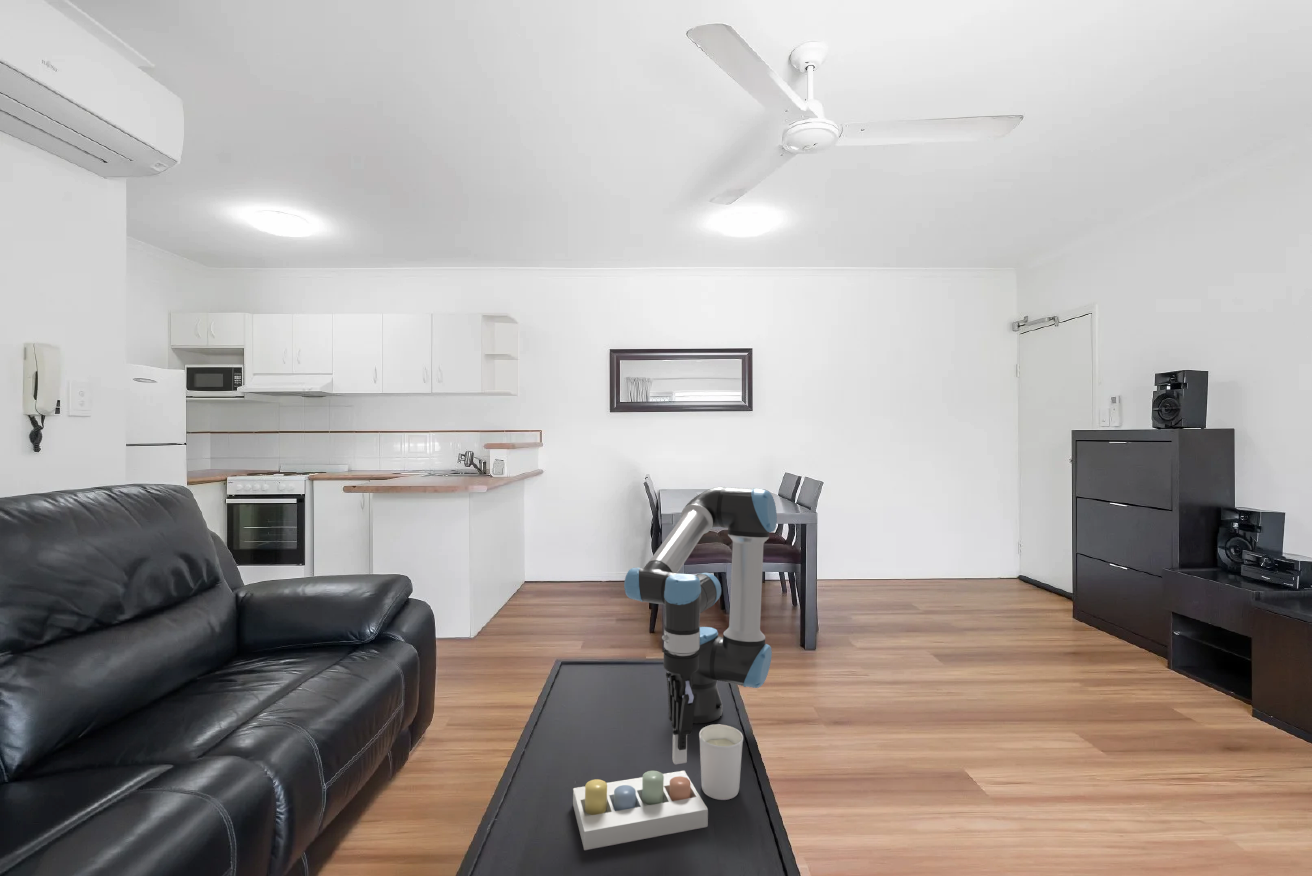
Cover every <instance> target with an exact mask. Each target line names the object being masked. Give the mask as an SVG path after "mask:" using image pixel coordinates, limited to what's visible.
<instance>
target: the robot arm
mask: <svg viewBox="0 0 1312 876" xmlns="http://www.w3.org/2000/svg"><path fill="white" fill-rule="evenodd" d="M777 517H778V516H777V506H776V502H775V499H774V496H773V494H772V493H771V492H770V491H769V490H766V489H761V488H748V487H747V488H744V487H725V486H718V487H713V488H709V489H707V490H705V491H703V492H700V493H698V495H696V496H694V497H693V498H692V499H691V500H690V501H688V503H687V504H686V505H685V506H684V508H683V509H682V511H681V513H680V519H679V520H678V521H677V522H676V524H675V525H674V527H673V528H672V530H670V532H669V534H668V535H667V536H666V538H665V539H664V541H663V542H662V543H661V544H660V546H659V547H658V548H657V549H656V551H655V553H654V554H653V555H652V557H651V558H650V559H649V560H648V562H647V563H646V564H645V565H644V567H642V568H641V567H632V568H630V569H628V571H627V572H626V575H625V578H624V582H623V588H624V593H625V595H626V596H627V598H628V599H631V600H634V601H638V602H641V603H650V604H657V605H664V626H663V628H664V632H663V633H664V634H663V635H662V636H661V639H662V641H663V648H664V650H663V668H664V670H666V671H667V672H666V674H665V677H666V683H667V684H666V685H667V686H666V687H667V701H668V703H667V704H668V719H669V720H668V721H669V722H671V727H672V731H671V732H672V752H671V753H672V755H671V756H672V760H671V761H672V762H673V764H674V765H679V764H686V763H687V762H688V761H687V760H688V735H692V732H693V725H694V724H706V723H707V724H708V723H712V722H714V721H717V720H719V719H720V718H721V717H722V716H723V702H722V699H721V698H722V697H721V695H720V692H719V688H718V682H722V683H723V682H724V683H727V684H733V685H737V686H741V687H743V688H747V687H748V688H754V689H758V688H761V687H762V686H763V685H764V683H765V682H766V680H767V677H768V674H769V672H770V671H769V670H770V666H771V662H772V656H773V655H772V653H773V652H772V651H773V650H772V647H771V645H769V644H767V643H766V635H765V634H764V633H763V632H762V631H761V614H762V589H763V588H762V587H763V565H764V564H763V563H764V545H765V542H767V540H769V539H770V533H772V532H774V531H776V529H777V528H776V527H777V521H778V518H777ZM713 528H723V529H724V528H726V529H727V536H728V537H729V538H730V539H731V541H732V553H731V554H732V555H731V577H730V578H731V579H730V597H729V598H730V599H729V600H730V602H729V623H728V627H727V629H725V630H724V631H723V634H722V636H720V635H719V632H718V629H716V628H714V627H711V626H700V625H701V623H700V622H701V621H700V619H701V613H703V612H704V611H707V609H709V608H711V607H713V606H714V605H715V603H716V602H717V601H718V600H719V599H720V597H721V595H722V587H721V586H722V585H721V583H720V581H719V579H718V578H717V577H716V576H715V575H714V574H713V573H709V572H700V573H696V574H690V573H680V572H679V571H681V569H682V567H683V565H684V564H685V563H686V561H687V559H689V557H690V555H691V554H692V552H693V551H694V548H695V547H696V546H697V545H698V543H699V541H700V540H701V538H702V537H703V535H704V534H707V533H709V532H710V531H711V530H712V529H713ZM720 716H721V717H720Z"/></svg>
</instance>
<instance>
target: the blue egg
mask: <svg viewBox="0 0 1312 876" xmlns="http://www.w3.org/2000/svg"><path fill="white" fill-rule="evenodd" d="M635 799H636V791H635V789H634V788H633V787H632V786H629V785H622V786H619V787H617V788H616V789H615V790H614V810H615V811H619V810H625V809H631V808H635Z"/></svg>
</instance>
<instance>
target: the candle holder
mask: <svg viewBox="0 0 1312 876" xmlns="http://www.w3.org/2000/svg"><path fill="white" fill-rule="evenodd" d="M698 737H699V738H698V739H699V754H700V755H699V757H700V759H699V762H700V763H699V764H700V778H701V779H700V780H701V781H700V782H701V790H702V791H703V793H704V794H705V795H706V796H707V797H709V798H710V799H711V798H712V799H715V800H718V801H726V800H727V801H728V800H730V799H734V798H735V797H736V796H737V795H738V793H739V791H740V782H741V768H742V758H743V757H742V755H743V742H744V735H743V733H742V732H741V731H740V730H739V729H737V728H736V727H733V726H732V725H726V724H719V723H718V724H710V725H707V726H706V725H705V727H702V728H701V729H700V730H699V733H698Z"/></svg>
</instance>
